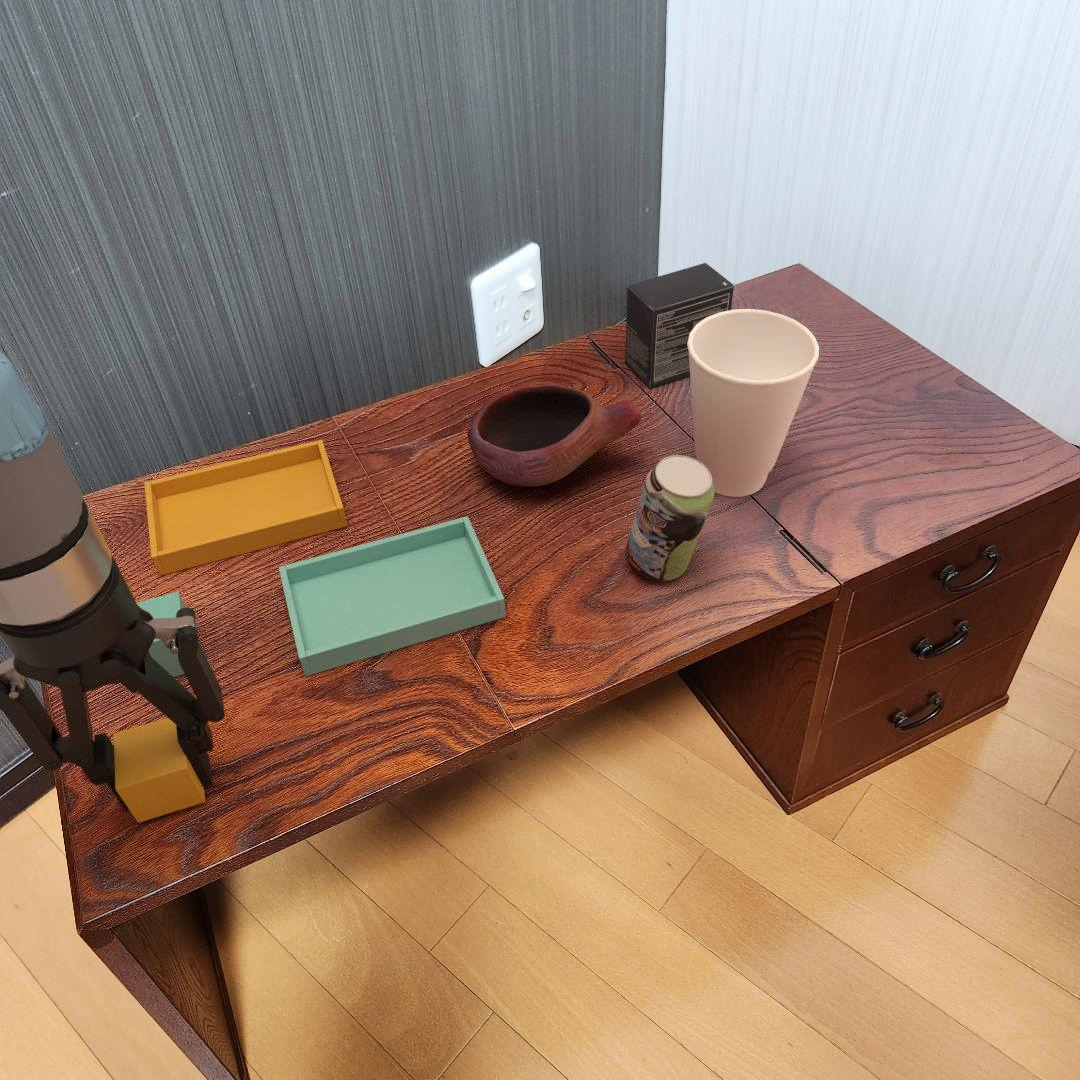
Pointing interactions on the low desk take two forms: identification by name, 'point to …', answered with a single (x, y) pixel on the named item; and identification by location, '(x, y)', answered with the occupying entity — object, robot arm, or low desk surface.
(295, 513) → the ochre tray
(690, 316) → the small box
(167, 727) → the ochre block
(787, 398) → the cup
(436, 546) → the teal tray
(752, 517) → the low desk surface
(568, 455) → the bowl
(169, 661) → the teal block
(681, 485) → the beverage can
